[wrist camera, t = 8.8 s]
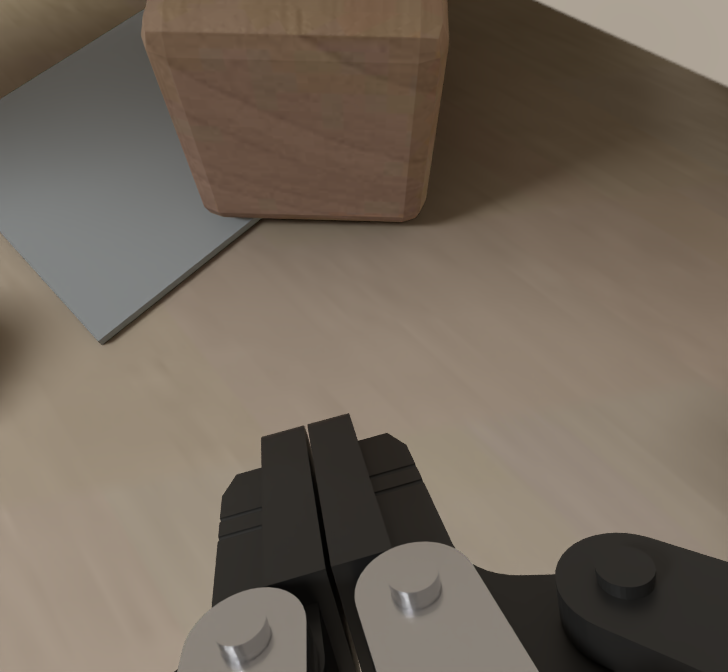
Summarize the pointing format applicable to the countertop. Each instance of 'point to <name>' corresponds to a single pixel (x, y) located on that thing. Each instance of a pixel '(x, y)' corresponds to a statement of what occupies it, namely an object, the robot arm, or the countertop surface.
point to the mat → (103, 184)
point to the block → (303, 102)
